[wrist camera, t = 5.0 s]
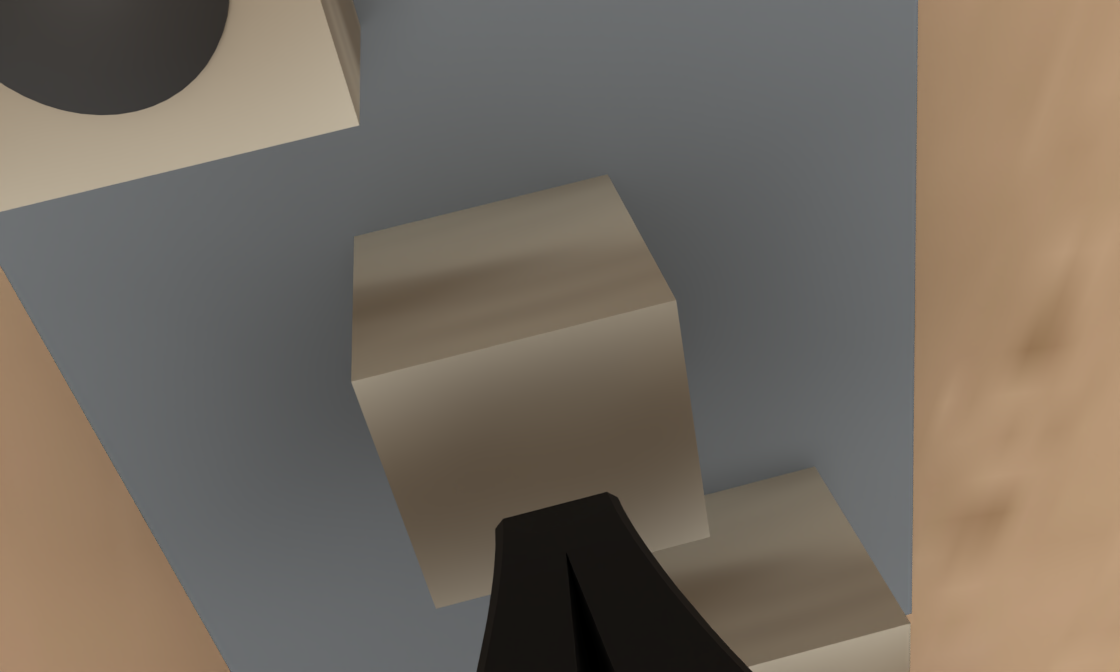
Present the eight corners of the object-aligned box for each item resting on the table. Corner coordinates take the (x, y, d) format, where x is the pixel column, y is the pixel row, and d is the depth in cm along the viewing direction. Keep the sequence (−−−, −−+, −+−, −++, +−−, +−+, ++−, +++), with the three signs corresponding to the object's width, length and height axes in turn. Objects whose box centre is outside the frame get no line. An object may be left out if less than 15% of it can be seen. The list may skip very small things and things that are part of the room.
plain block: (643, 381, 17) (709, 536, 14) (422, 437, 17) (436, 608, 14) (607, 173, 15) (676, 299, 12) (354, 237, 15) (350, 381, 12)
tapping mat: (895, 587, 23) (911, 613, 22) (294, 747, 22) (292, 779, 21) (892, -560, 12) (923, -576, 11) (-283, -304, 11) (-324, -306, 11)
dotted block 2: (823, 605, 21) (912, 777, 18) (643, 653, 21) (698, 835, 18) (814, 466, 19) (914, 630, 16) (614, 518, 19) (671, 696, 16)
